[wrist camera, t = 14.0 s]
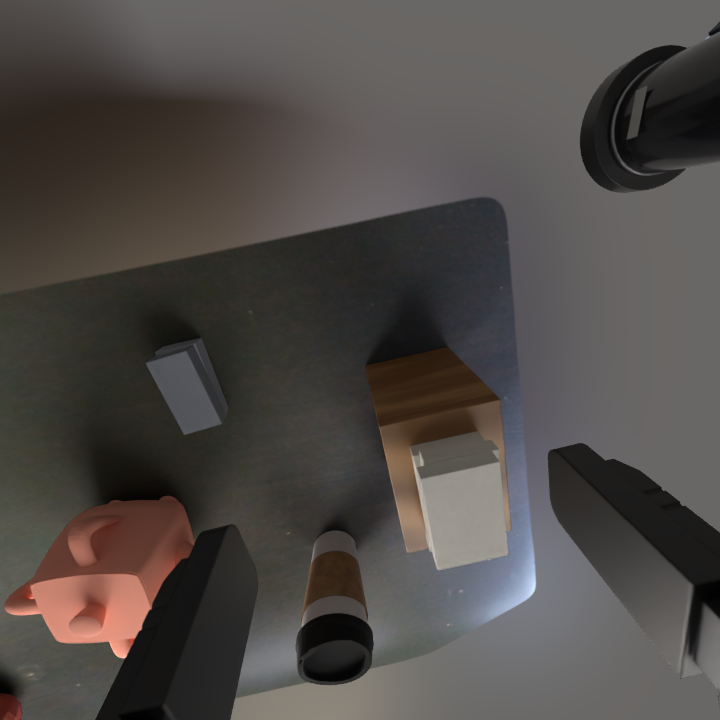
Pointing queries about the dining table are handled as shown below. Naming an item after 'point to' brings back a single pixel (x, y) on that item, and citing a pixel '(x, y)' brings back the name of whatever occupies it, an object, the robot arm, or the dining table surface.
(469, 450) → the white books
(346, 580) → the coffee cup
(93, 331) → the dining table surface
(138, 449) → the dining table surface
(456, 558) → the white book
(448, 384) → the shelf
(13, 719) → the fruit
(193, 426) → the grey books
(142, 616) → the teapot
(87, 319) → the dining table surface
